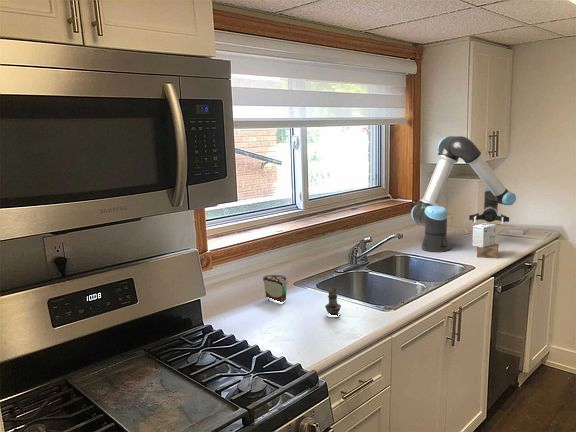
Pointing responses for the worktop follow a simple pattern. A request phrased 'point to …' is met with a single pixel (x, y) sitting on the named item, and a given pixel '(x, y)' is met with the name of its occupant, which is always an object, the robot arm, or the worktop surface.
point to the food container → (275, 287)
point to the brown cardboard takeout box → (488, 251)
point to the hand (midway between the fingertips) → (488, 221)
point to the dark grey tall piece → (333, 302)
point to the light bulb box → (484, 235)
